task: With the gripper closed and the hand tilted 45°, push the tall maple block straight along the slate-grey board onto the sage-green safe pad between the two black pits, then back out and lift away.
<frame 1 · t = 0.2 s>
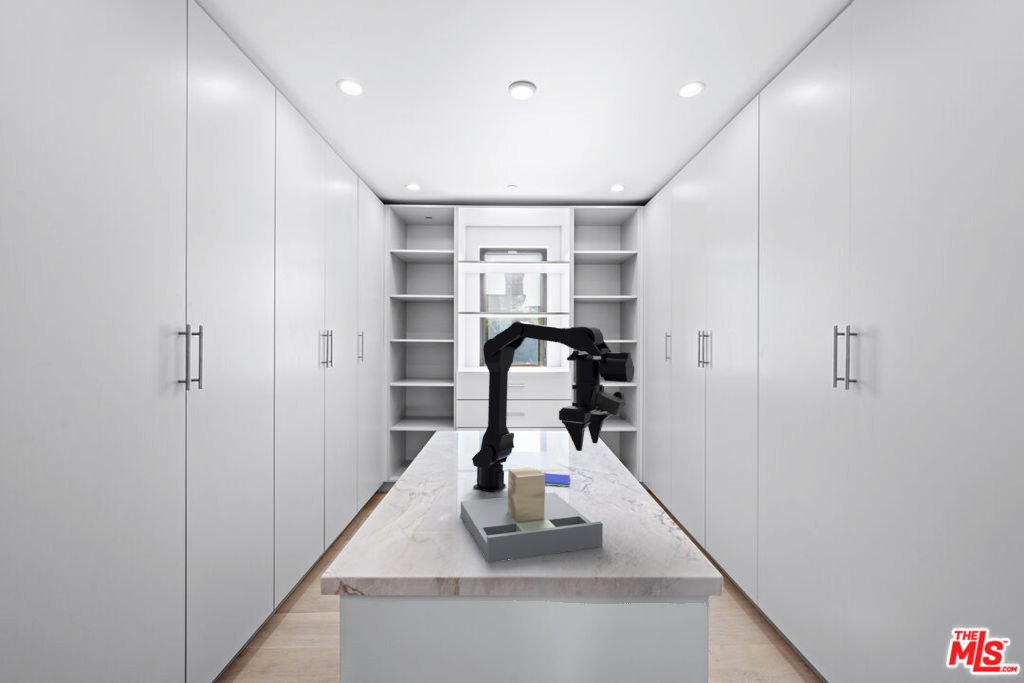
hand: (587, 446, 109), 15 cm above the table, tool pointing down, fingers open, 9 cm apart
maple block: (525, 514, 98), point 3 cm above the table, touching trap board
hard drive: (546, 483, 131), on the table
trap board: (528, 532, 96), on the table
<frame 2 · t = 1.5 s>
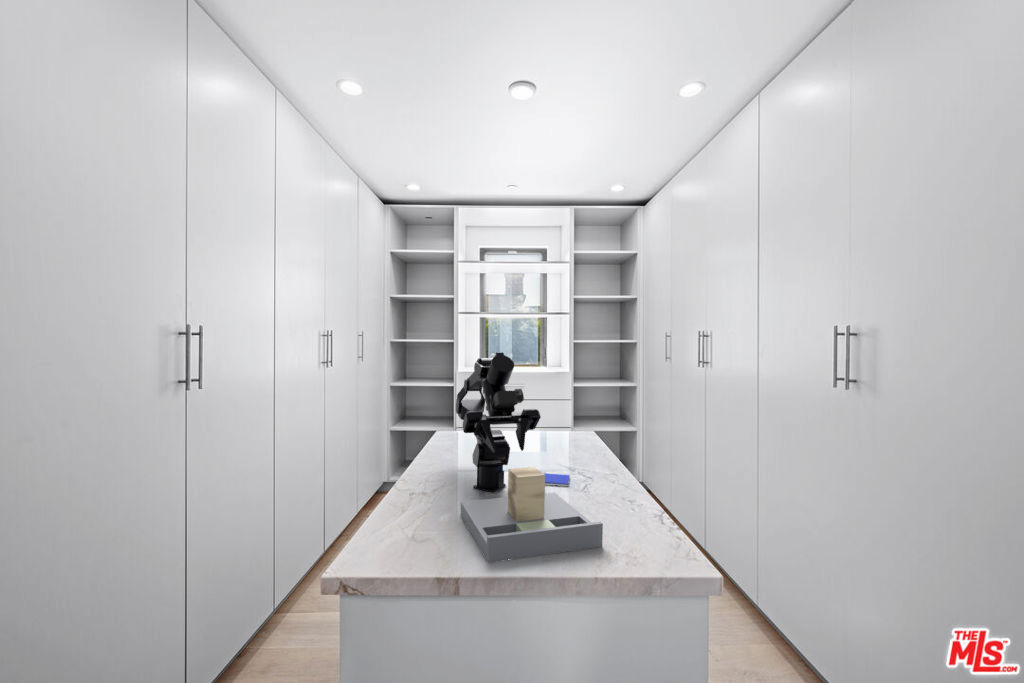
hand: (508, 450, 109), 14 cm above the table, tool tilted 45°, fingers open, 7 cm apart
nothing on the table moved.
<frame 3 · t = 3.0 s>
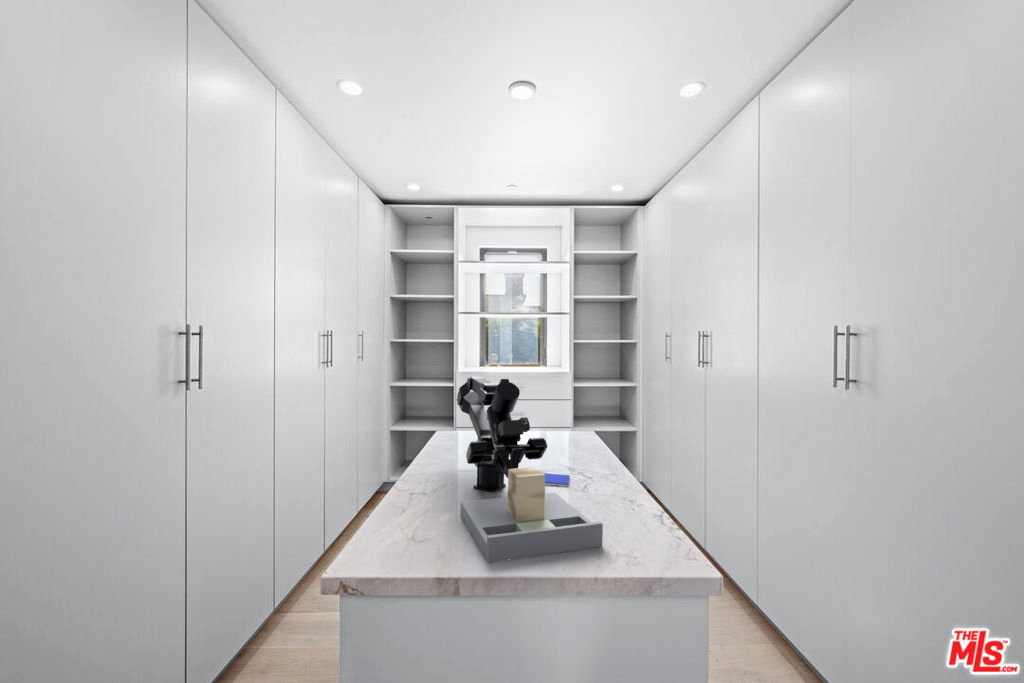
hand: (514, 483, 105), 7 cm above the table, tool tilted 45°, fingers closed
nothing on the table moved.
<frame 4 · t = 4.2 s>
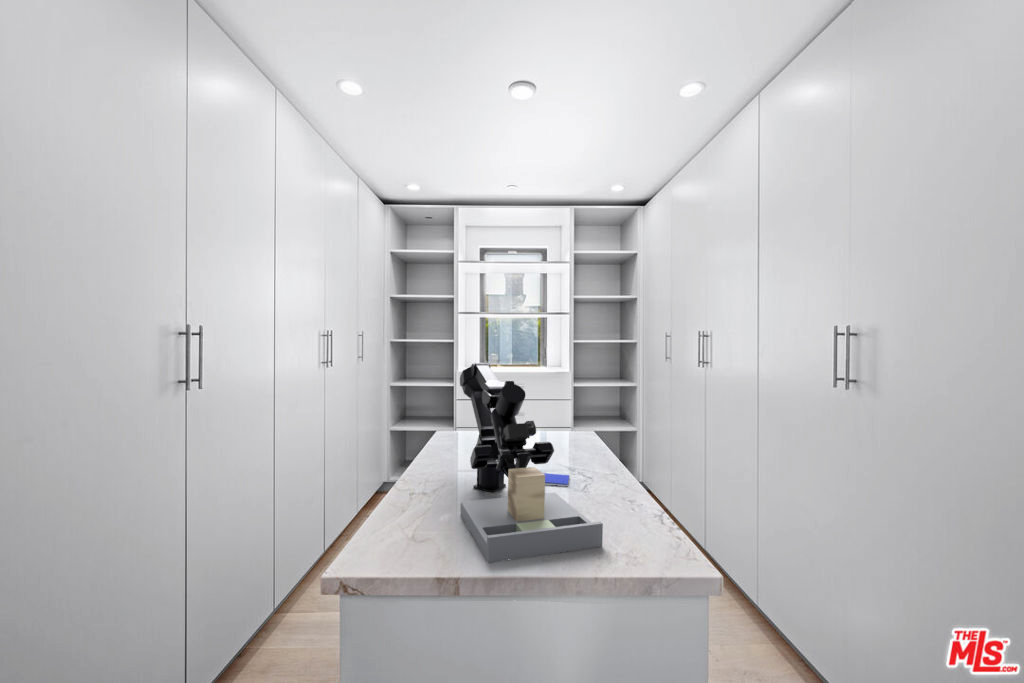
hand: (520, 489, 101), 7 cm above the table, tool tilted 45°, fingers closed, pressing on maple block
maple block: (525, 514, 98), point 3 cm above the table, touching gripper, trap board
everything else where it was.
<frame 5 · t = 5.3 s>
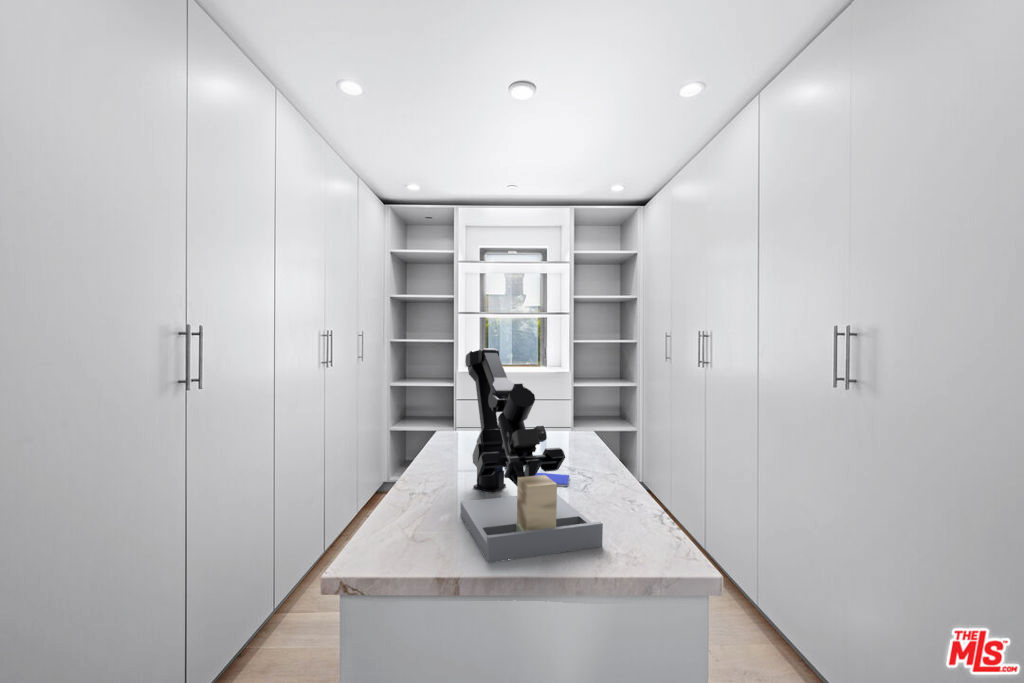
hand: (530, 498, 95), 7 cm above the table, tool tilted 45°, fingers closed, pressing on maple block
maple block: (536, 525, 92), point 3 cm above the table, touching gripper, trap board
everything else where it was.
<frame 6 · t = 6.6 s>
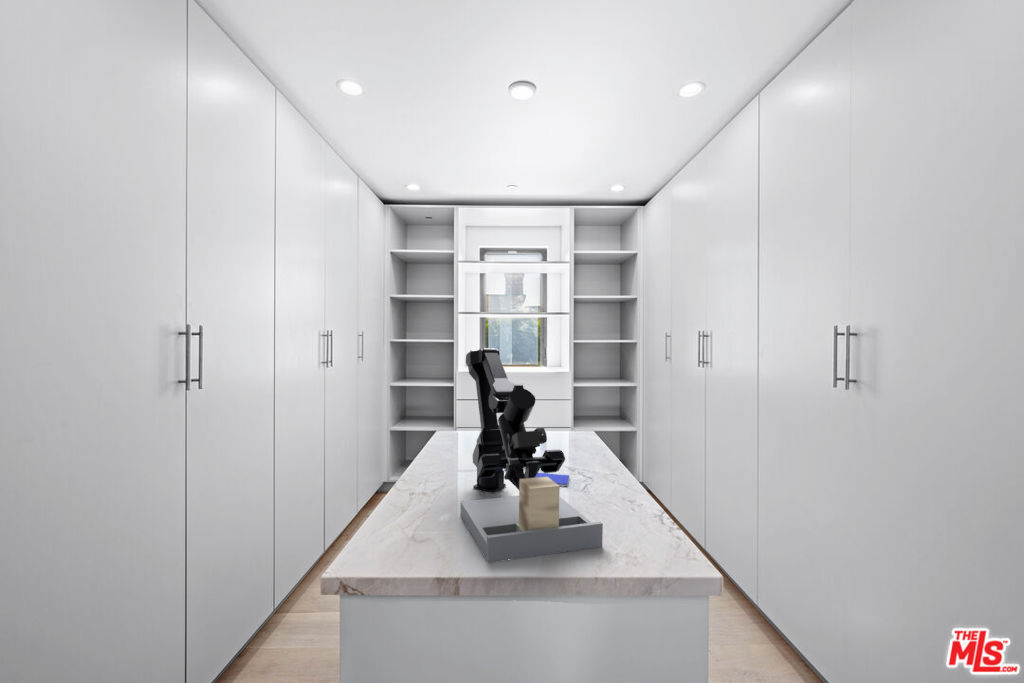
hand: (530, 500, 95), 7 cm above the table, tool tilted 45°, fingers closed
maple block: (538, 528, 91), point 3 cm above the table, touching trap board
everything else where it was.
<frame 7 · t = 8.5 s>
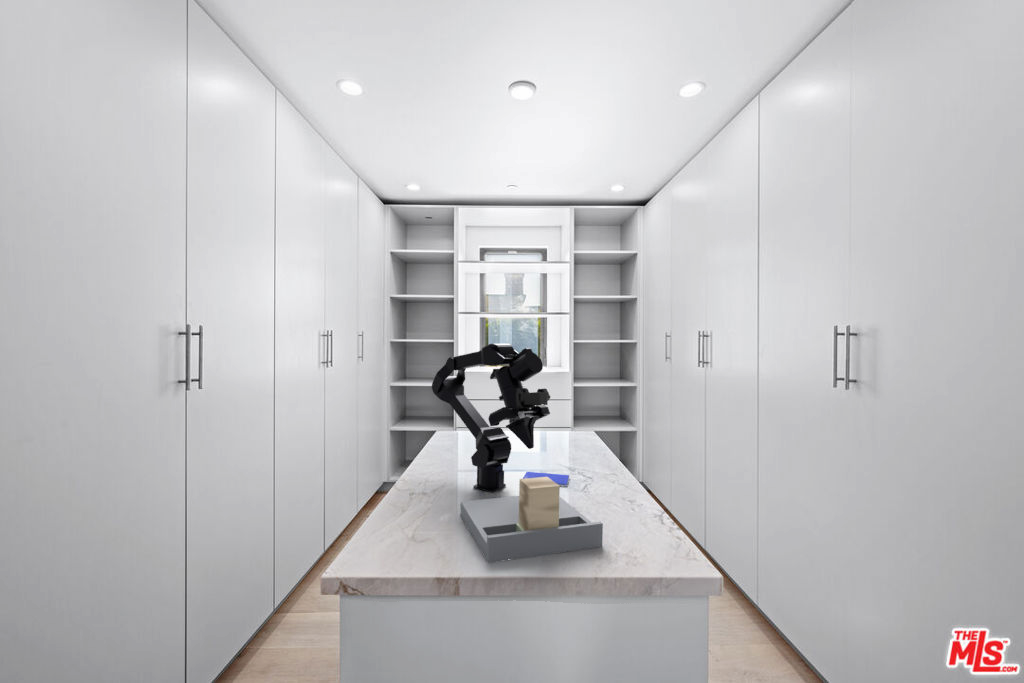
hand: (531, 448, 113), 13 cm above the table, tool tilted 30°, fingers closed
nothing on the table moved.
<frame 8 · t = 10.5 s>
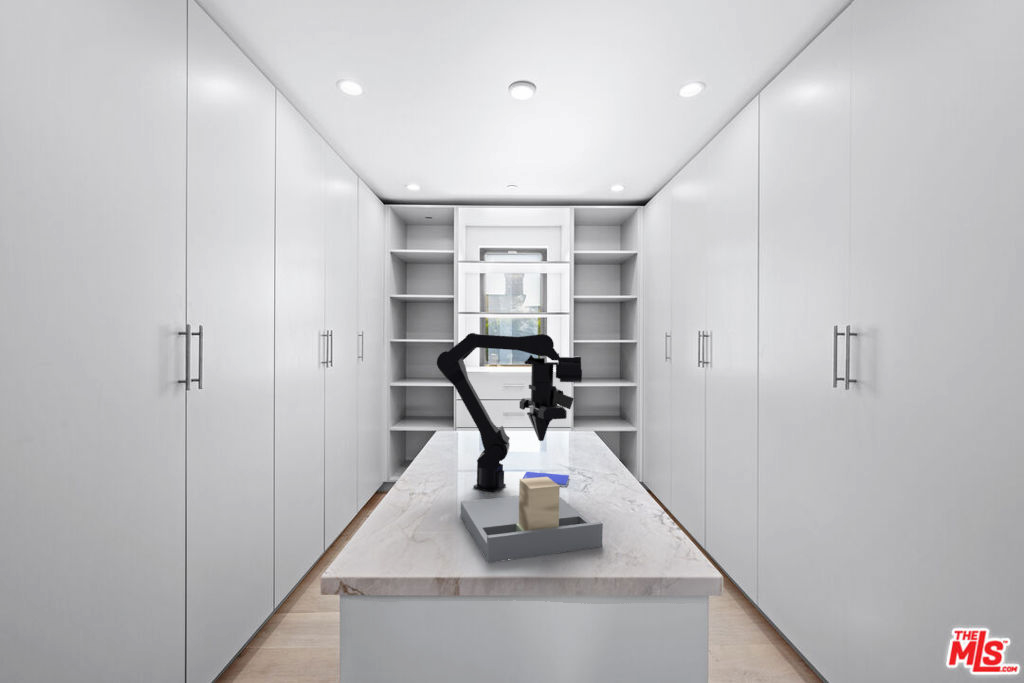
hand: (541, 440, 123), 13 cm above the table, tool pointing down, fingers closed
nothing on the table moved.
at the end: maple block 0.2 cm from the target spot, point 3.0 cm above the table; maple block tilted 0°; maple block moved 7.2 cm from its start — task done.
